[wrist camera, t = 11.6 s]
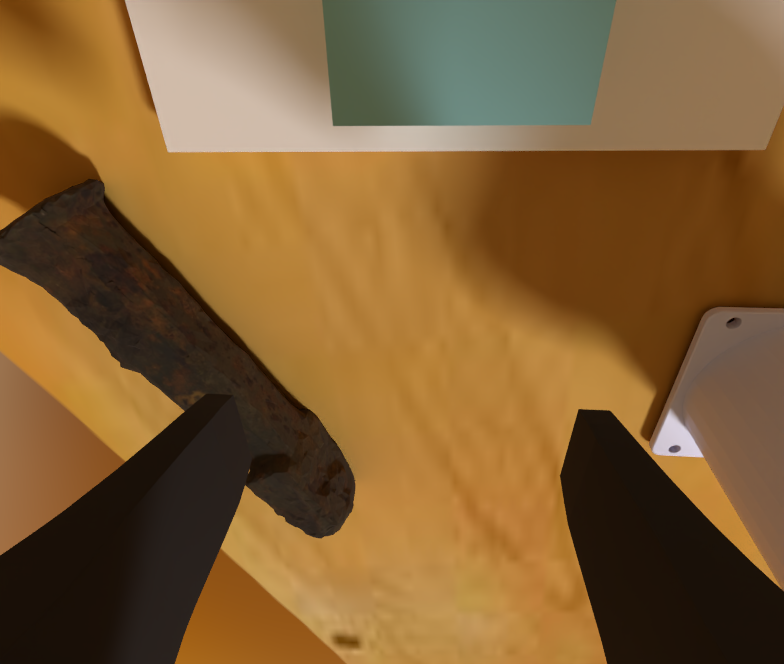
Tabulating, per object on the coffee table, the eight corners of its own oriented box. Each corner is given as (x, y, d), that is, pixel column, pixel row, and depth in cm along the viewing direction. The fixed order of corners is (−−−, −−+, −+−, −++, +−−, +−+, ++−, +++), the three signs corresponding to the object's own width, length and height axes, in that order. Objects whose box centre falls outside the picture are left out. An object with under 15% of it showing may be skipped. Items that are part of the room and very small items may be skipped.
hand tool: (41, 213, 19) (-62, 266, 15) (105, 163, 17) (9, 207, 13) (316, 488, 27) (296, 566, 23) (374, 469, 26) (362, 549, 22)
